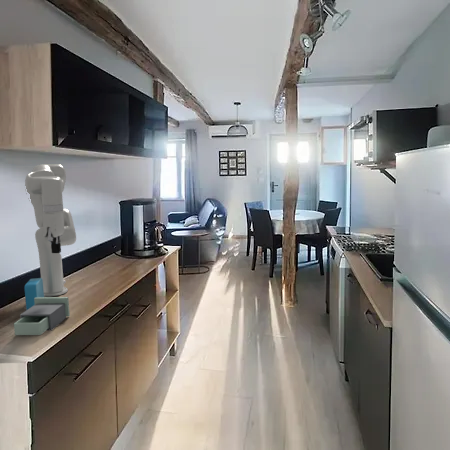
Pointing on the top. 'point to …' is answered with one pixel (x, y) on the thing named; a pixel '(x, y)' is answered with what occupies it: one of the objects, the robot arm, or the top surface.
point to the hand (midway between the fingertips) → (56, 252)
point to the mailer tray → (38, 318)
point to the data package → (33, 291)
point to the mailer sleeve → (48, 312)
